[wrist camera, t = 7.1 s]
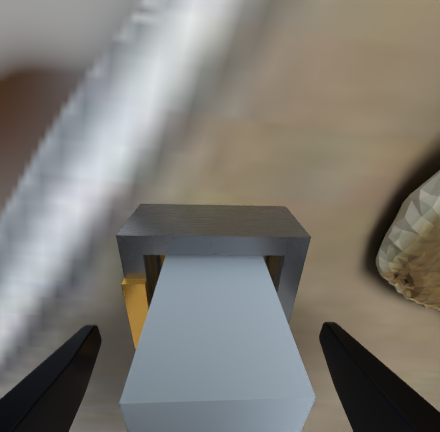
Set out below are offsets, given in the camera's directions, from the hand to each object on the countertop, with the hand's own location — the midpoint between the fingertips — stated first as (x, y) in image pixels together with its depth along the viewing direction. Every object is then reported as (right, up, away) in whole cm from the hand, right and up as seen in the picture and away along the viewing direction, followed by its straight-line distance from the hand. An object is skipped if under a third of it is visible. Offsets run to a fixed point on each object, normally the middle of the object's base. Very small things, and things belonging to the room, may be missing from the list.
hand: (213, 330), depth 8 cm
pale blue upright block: (0, +1, +2) cm, 3 cm away
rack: (0, +2, +3) cm, 4 cm away
